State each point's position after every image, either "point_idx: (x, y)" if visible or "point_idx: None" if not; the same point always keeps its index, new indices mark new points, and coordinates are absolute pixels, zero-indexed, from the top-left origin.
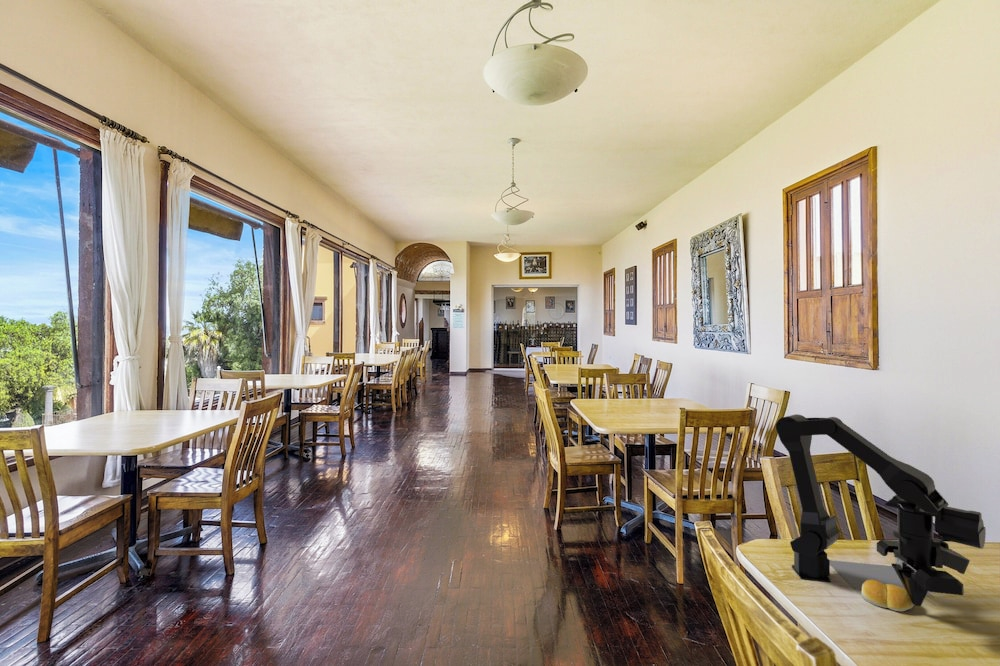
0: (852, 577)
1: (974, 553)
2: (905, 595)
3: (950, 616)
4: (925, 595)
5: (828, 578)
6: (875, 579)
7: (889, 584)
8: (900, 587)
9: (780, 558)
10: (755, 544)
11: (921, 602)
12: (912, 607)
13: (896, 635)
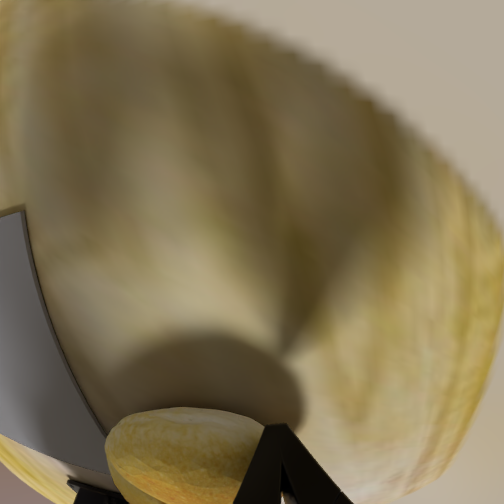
0: (53, 444)
1: None
2: None
3: (222, 220)
4: (332, 480)
5: (120, 499)
6: (14, 387)
7: (152, 495)
8: (177, 491)
9: (69, 498)
10: (41, 493)
11: (300, 442)
12: (250, 419)
13: (408, 447)
